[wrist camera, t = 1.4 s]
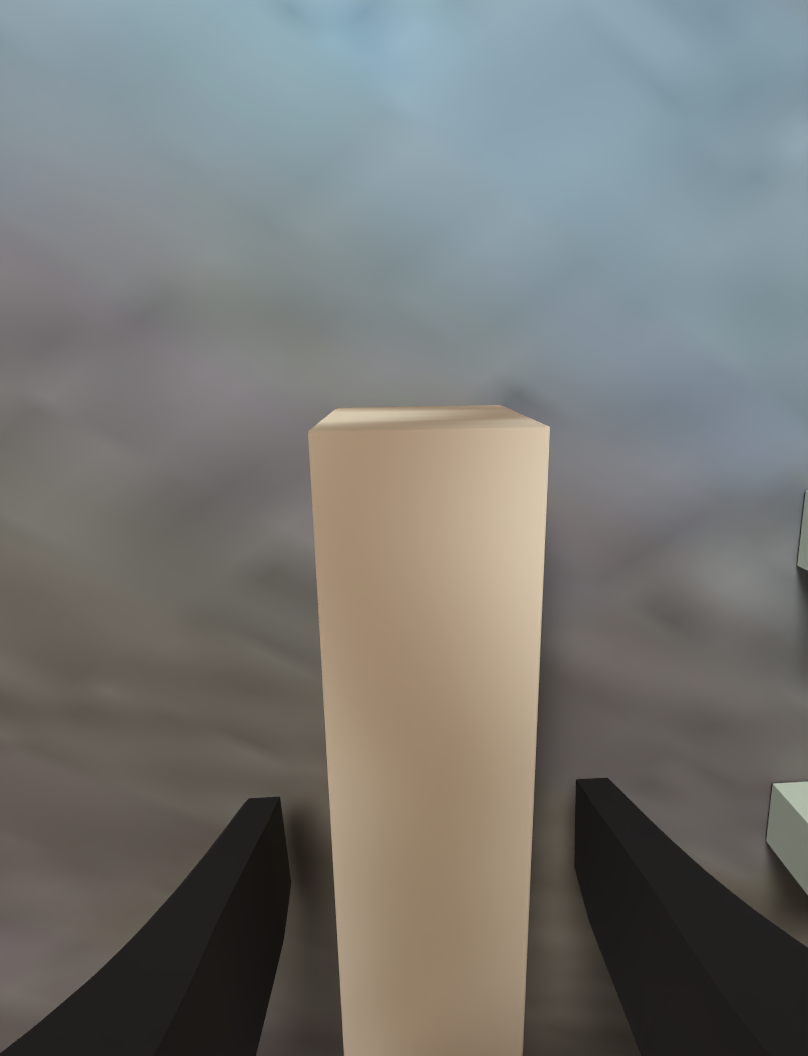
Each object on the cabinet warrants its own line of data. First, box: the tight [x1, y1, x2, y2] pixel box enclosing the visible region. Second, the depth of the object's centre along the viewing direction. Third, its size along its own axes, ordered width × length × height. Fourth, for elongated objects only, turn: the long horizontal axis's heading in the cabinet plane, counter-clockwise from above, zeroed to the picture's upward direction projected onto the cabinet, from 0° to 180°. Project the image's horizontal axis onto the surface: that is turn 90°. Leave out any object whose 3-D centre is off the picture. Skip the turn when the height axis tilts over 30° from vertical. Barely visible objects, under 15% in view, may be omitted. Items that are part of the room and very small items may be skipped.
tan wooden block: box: [308, 405, 550, 1056], centre depth 11 cm, size 3×12×4 cm, turn 1°
